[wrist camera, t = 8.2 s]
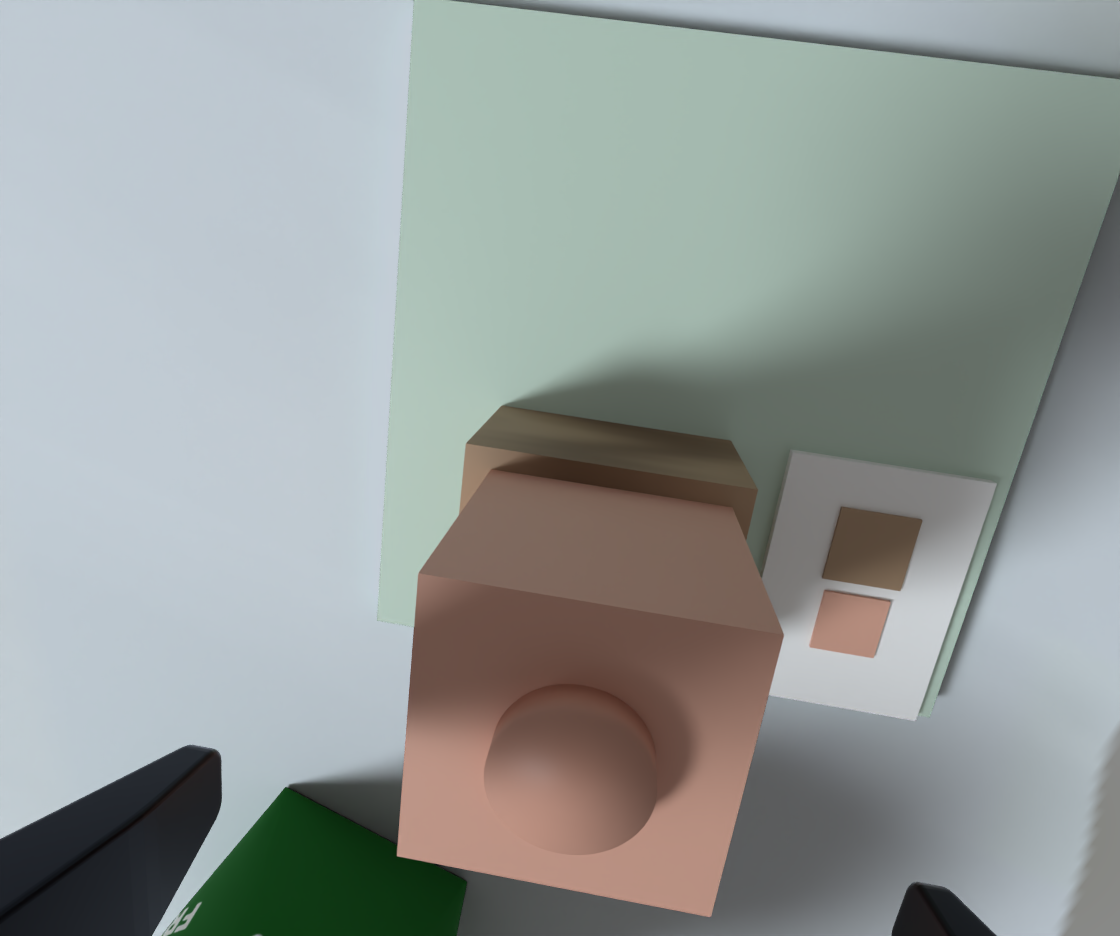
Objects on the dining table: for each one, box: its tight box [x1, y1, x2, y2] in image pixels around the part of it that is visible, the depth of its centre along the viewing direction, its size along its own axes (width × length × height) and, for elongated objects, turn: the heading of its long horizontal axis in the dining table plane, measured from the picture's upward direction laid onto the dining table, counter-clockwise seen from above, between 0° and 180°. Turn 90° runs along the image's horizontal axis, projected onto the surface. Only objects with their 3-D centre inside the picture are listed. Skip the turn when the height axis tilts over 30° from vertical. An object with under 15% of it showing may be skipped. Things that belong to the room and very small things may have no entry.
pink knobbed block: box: [397, 469, 784, 917], centre depth 12 cm, size 5×5×6 cm
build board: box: [377, 0, 1120, 721], centre depth 17 cm, size 16×16×1 cm
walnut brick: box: [459, 405, 758, 540], centre depth 17 cm, size 6×6×4 cm
